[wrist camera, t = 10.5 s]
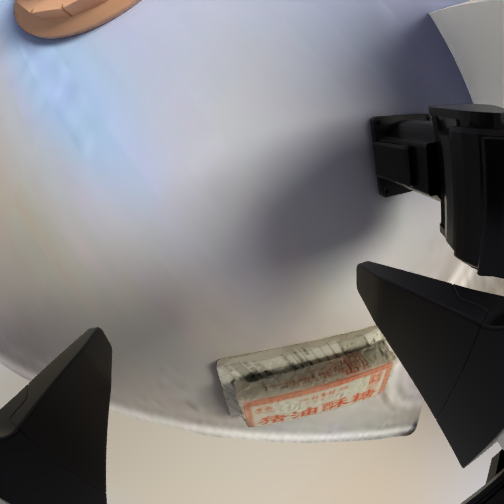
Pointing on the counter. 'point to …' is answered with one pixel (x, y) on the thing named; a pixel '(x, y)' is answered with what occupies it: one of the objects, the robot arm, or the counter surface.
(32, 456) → the robot arm
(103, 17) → the holder
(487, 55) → the milk
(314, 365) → the packaged product
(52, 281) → the counter surface
